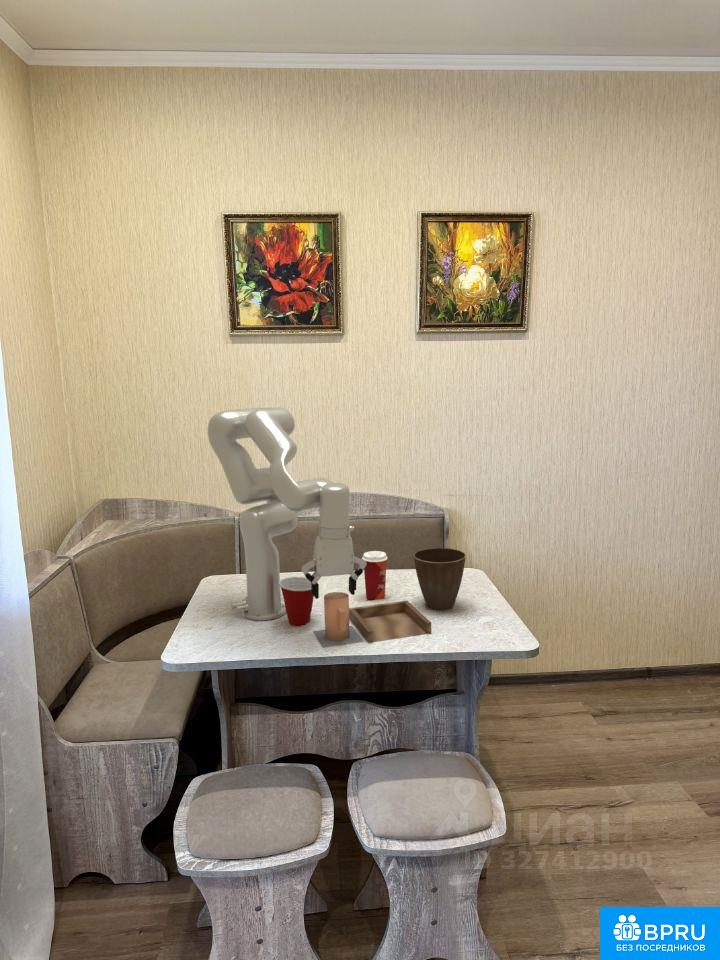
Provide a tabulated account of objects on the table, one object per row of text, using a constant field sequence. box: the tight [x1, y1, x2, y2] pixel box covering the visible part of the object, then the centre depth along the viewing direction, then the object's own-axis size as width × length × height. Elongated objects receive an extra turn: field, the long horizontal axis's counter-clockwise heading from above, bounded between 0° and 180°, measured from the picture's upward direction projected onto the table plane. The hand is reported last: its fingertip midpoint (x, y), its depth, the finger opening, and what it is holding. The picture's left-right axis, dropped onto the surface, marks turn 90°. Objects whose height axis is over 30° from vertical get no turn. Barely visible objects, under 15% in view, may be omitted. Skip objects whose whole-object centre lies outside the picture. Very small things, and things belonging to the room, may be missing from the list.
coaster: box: [312, 625, 365, 649], centre depth 179 cm, size 11×11×1 cm
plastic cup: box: [279, 576, 319, 627], centre depth 189 cm, size 11×11×12 cm
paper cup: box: [361, 550, 388, 602], centre depth 207 cm, size 8×8×14 cm
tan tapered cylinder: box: [323, 591, 350, 641], centre depth 177 cm, size 9×6×11 cm
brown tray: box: [349, 600, 432, 644], centre depth 185 cm, size 17×17×4 cm
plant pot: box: [413, 547, 466, 612], centre depth 198 cm, size 15×15×16 cm
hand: (333, 594), depth 177 cm, fingers open, 9 cm apart
